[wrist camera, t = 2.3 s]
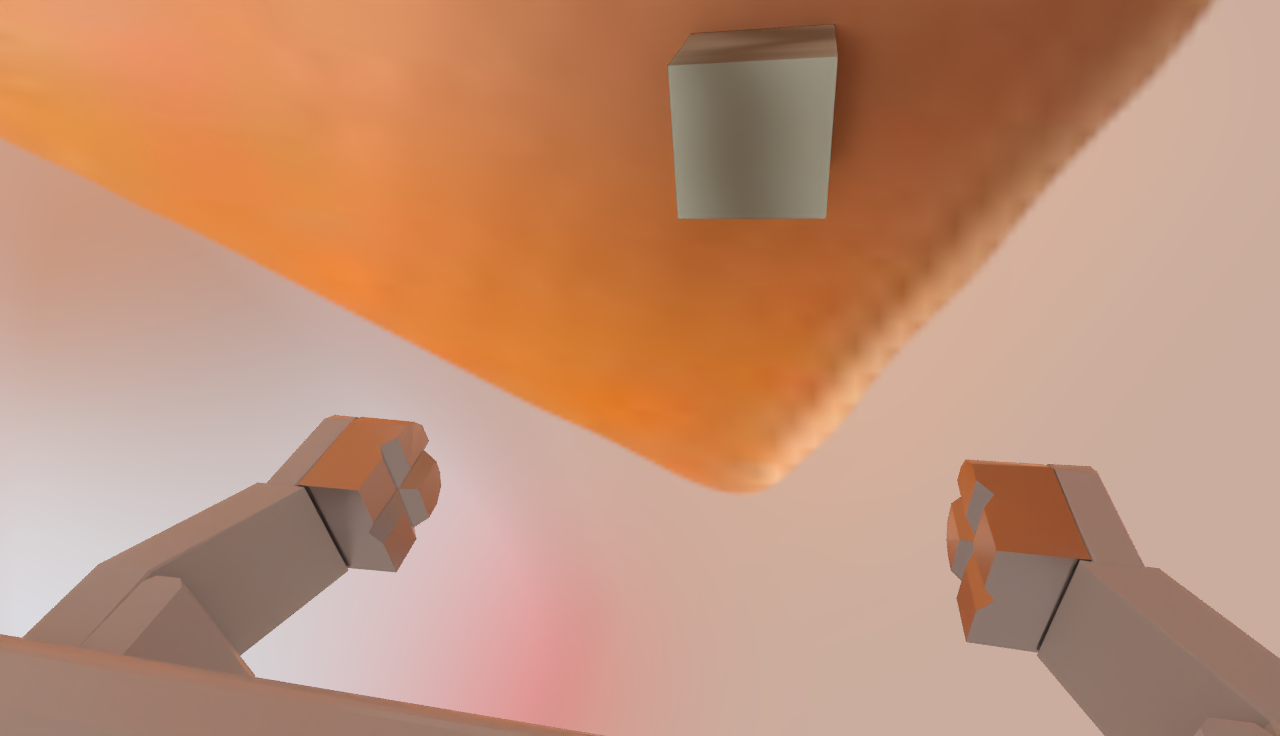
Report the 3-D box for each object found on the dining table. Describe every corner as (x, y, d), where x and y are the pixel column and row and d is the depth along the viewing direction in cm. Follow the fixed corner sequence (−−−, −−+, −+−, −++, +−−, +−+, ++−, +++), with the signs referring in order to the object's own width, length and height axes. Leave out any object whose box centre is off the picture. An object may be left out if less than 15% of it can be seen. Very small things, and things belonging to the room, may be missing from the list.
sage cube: (834, 23, 23) (837, 56, 19) (824, 165, 26) (825, 218, 22) (691, 32, 24) (667, 65, 20) (697, 167, 27) (677, 218, 23)
